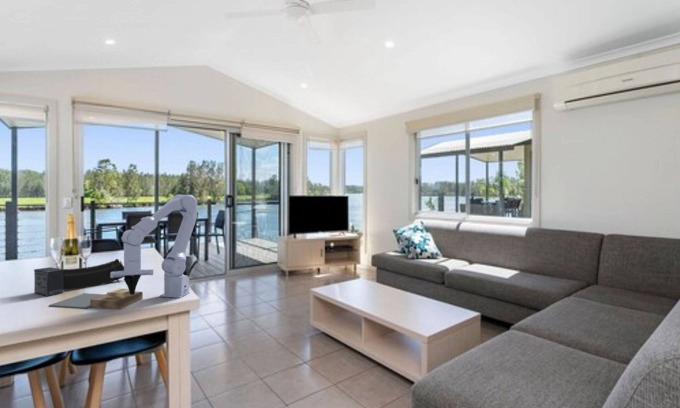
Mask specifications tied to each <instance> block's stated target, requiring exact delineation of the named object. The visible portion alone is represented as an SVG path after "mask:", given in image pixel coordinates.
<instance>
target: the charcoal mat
mask: <svg viewBox="0 0 680 408" xmlns="http://www.w3.org/2000/svg"><path fill="white" fill-rule="evenodd" d="M105 294H106V293H105ZM105 294H104V293H103V294H102V293H87V292H86V293H81V294H78V295H75V296H72V297H69V298H66V299H63V300H59V301H57V302H53V303H50V304H49V305H48V307H54V308H55V307H56V308H57V307H58V308H69V309H70V308H71V309H89V308H91V307H90V300H91V299H94V298H96V297H99V296H102V295H105Z"/></svg>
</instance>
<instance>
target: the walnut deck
mask: <svg viewBox="0 0 680 408" xmlns="http://www.w3.org/2000/svg"><path fill="white" fill-rule="evenodd" d="M141 300H143V291H136V290H135V294H134V295H131V296H128V297H126V298H107V293H105V295H102V296H99V297H96V298H94V299H91V300H90V307H89V308H95V309H108V310H109V309H110V310H111V309H112V310H120V309H122V308H125V307H127V306H129V305H132V304H134V303H136V302H138V301H141Z"/></svg>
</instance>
